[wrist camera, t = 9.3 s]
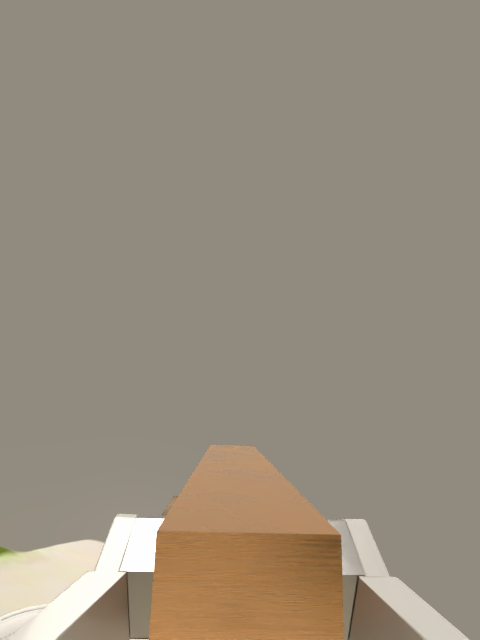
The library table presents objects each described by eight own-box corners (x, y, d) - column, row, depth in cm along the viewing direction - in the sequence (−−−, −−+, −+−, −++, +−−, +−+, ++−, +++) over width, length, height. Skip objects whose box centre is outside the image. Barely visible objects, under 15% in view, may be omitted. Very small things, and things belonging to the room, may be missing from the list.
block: (347, 762, 6) (341, 534, 7) (140, 759, 6) (156, 531, 6) (253, 492, 27) (253, 446, 28) (208, 491, 27) (210, 445, 28)
